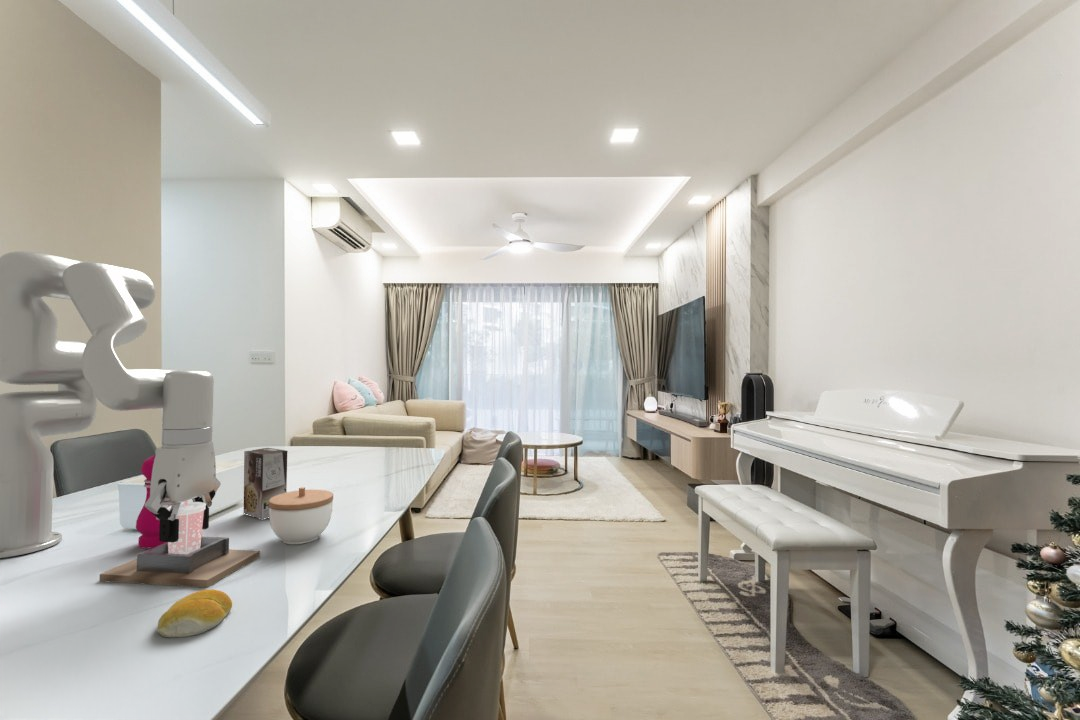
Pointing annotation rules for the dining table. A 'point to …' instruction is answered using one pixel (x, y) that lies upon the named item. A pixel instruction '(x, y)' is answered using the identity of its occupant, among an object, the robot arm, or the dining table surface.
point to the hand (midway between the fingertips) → (184, 533)
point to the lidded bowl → (300, 515)
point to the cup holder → (183, 565)
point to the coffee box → (263, 479)
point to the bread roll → (195, 614)
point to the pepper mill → (148, 513)
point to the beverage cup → (188, 528)
